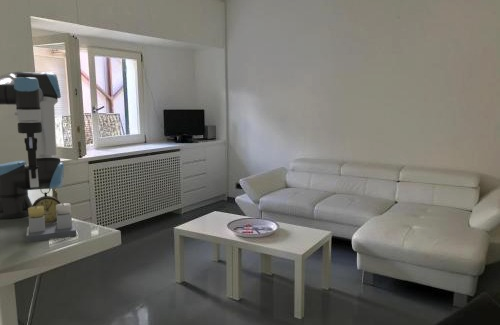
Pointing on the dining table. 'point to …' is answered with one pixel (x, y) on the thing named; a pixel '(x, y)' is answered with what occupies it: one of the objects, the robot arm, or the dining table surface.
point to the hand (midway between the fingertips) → (34, 186)
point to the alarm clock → (48, 207)
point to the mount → (50, 228)
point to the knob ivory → (63, 208)
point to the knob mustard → (36, 211)
